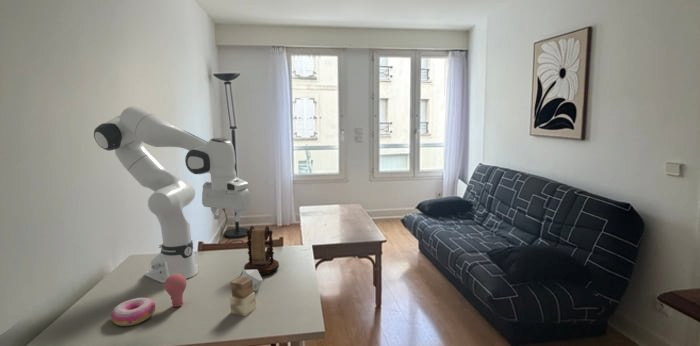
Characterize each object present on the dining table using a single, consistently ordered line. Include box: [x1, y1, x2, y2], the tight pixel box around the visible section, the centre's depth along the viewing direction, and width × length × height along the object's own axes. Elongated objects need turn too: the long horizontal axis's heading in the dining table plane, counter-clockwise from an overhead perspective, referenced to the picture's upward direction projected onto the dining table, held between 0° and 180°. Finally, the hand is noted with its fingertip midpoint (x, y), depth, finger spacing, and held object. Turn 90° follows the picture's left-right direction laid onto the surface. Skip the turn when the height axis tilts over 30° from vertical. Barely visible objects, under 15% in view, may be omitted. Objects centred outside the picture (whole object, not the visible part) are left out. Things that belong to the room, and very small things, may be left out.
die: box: [240, 269, 263, 292], centre depth 156 cm, size 8×9×10 cm
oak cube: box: [229, 291, 257, 317], centre depth 140 cm, size 6×6×6 cm
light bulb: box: [164, 274, 187, 308], centre depth 144 cm, size 7×7×12 cm
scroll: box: [243, 225, 280, 276], centre depth 174 cm, size 15×15×20 cm
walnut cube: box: [230, 276, 254, 299], centre depth 140 cm, size 5×5×5 cm
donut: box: [110, 297, 156, 327], centre depth 137 cm, size 14×13×5 cm
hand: (227, 220), depth 148 cm, fingers open, 8 cm apart
